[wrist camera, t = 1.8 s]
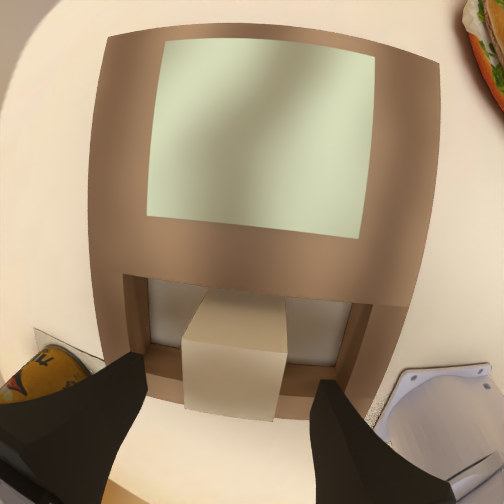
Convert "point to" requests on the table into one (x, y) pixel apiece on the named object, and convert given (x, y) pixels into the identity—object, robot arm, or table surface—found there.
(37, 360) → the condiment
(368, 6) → the table surface
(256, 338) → the cream block
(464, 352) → the table surface
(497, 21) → the burger
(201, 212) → the board
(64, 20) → the table surface
